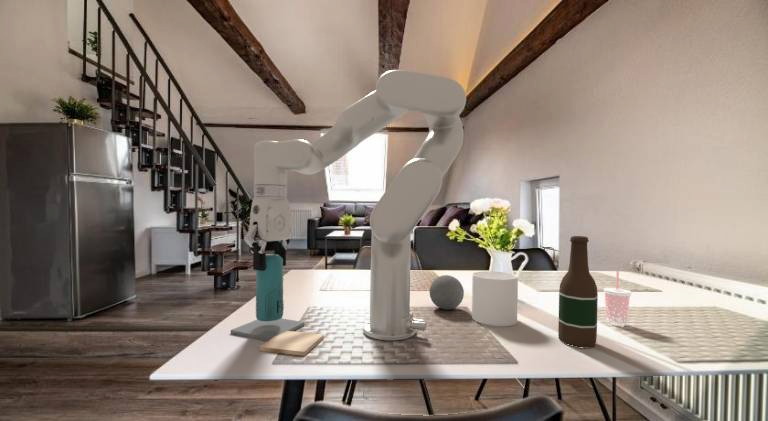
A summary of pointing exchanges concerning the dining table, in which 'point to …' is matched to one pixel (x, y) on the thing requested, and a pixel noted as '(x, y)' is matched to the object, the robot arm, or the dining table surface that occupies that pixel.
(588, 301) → the beer bottle
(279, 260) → the beverage bottle
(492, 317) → the cup
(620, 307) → the beverage cup
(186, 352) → the dining table surface
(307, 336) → the light wooden coaster
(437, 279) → the decorative ball
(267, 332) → the slate coaster
